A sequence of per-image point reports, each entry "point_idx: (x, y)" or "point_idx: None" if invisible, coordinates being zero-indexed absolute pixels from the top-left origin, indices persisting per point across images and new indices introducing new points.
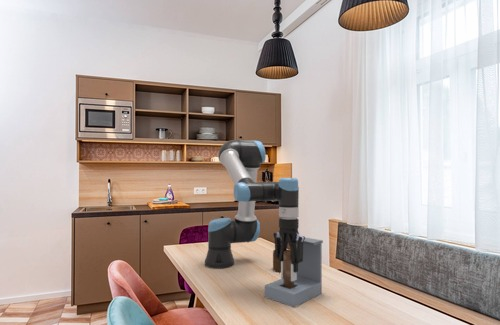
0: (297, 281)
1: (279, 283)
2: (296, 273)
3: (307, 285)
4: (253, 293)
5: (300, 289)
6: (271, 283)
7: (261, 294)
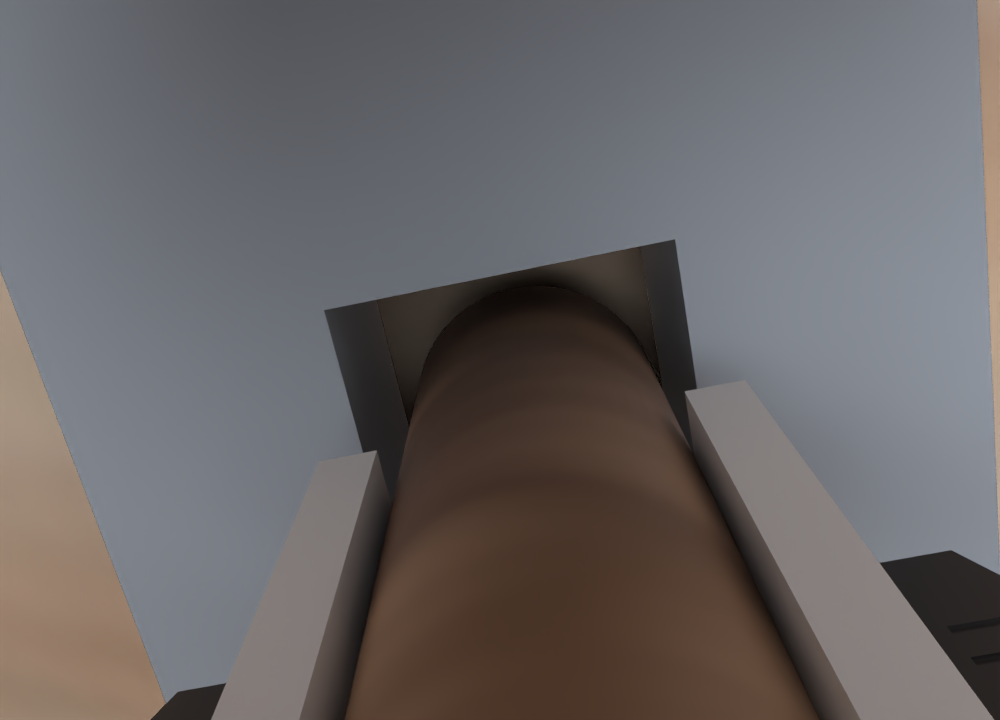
0: (418, 7)
1: (285, 512)
2: (808, 472)
3: (843, 21)
4: (22, 702)
5: (908, 391)
6: (185, 649)
7: (130, 628)
